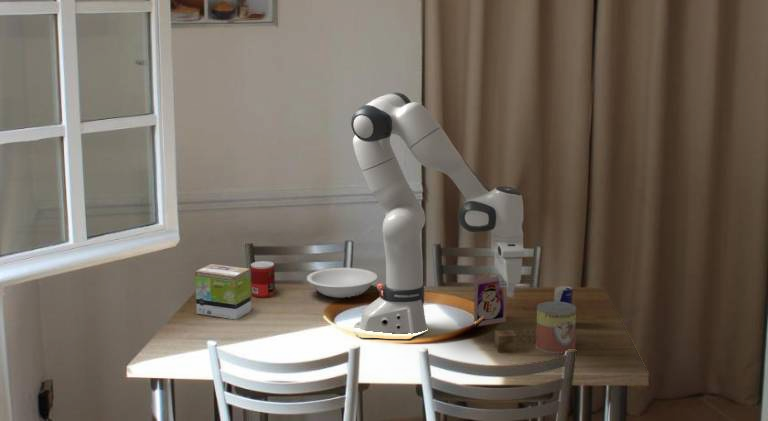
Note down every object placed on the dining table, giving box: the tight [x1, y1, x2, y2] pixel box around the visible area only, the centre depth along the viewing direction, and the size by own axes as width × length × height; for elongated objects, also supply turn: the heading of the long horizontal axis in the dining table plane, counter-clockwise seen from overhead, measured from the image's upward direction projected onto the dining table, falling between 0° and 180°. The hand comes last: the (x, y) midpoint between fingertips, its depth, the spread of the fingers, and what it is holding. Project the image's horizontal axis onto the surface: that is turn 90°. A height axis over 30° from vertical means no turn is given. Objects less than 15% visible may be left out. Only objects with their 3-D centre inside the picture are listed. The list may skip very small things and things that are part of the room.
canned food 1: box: [250, 260, 276, 299], centre depth 350 cm, size 8×8×11 cm
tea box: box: [194, 263, 252, 321], centre depth 331 cm, size 15×10×15 cm, turn 68°
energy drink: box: [553, 285, 573, 304], centre depth 317 cm, size 5×5×12 cm
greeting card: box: [473, 271, 507, 327], centre depth 321 cm, size 11×7×15 cm, turn 115°
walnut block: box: [494, 329, 517, 354], centre depth 296 cm, size 5×5×5 cm
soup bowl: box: [306, 267, 378, 299], centre depth 350 cm, size 24×24×7 cm
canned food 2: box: [535, 300, 577, 354], centre depth 298 cm, size 11×11×12 cm
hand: (506, 291), depth 293 cm, fingers open, 8 cm apart
